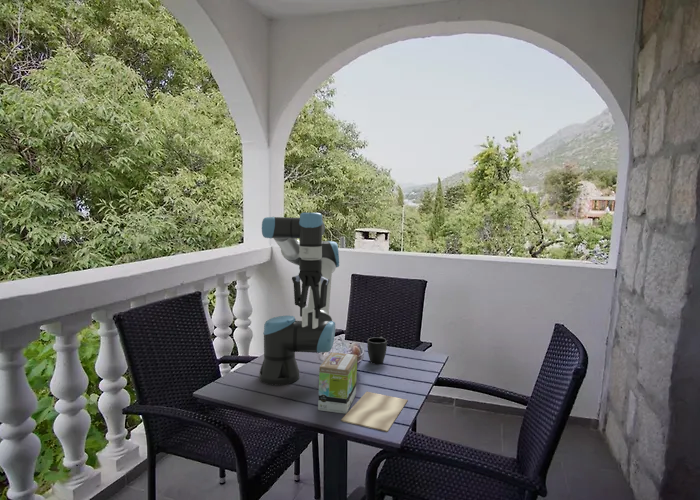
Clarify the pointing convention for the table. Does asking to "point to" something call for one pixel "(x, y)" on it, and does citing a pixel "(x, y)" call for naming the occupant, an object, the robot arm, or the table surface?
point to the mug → (377, 349)
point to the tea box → (337, 382)
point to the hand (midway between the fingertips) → (310, 326)
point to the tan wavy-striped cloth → (375, 411)
